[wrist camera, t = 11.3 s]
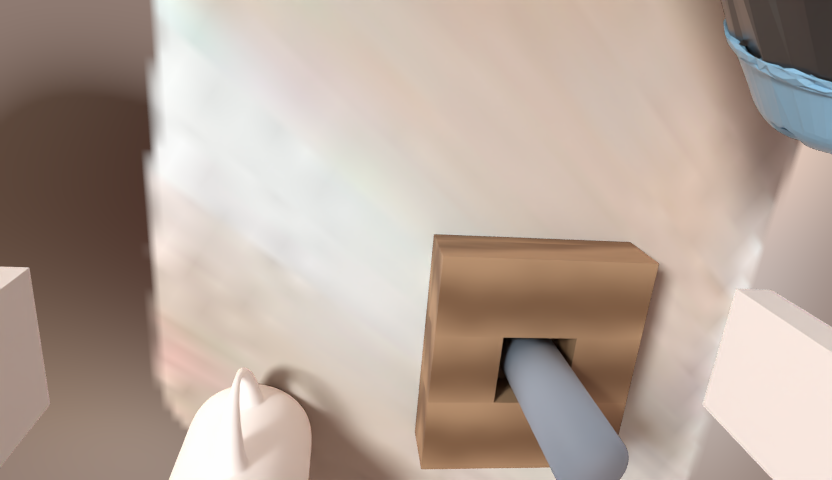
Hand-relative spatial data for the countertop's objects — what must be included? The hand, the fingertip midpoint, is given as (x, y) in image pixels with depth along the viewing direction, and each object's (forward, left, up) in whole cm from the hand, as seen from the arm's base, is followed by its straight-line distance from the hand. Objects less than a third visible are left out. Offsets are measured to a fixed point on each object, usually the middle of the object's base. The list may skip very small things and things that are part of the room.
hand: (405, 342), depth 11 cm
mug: (+21, -7, -27) cm, 35 cm away
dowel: (+15, +12, -26) cm, 32 cm away
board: (+15, +12, -27) cm, 33 cm away
